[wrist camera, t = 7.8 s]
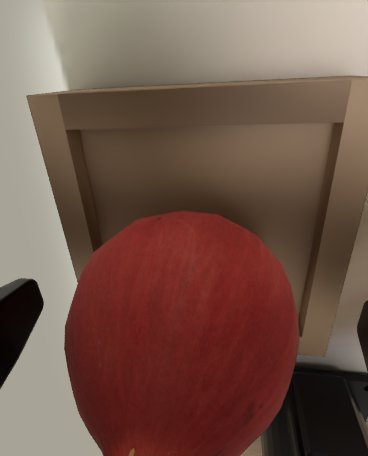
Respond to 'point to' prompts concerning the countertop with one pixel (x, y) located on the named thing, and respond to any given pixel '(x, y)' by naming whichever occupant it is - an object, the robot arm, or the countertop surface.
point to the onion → (181, 338)
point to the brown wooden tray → (219, 170)
